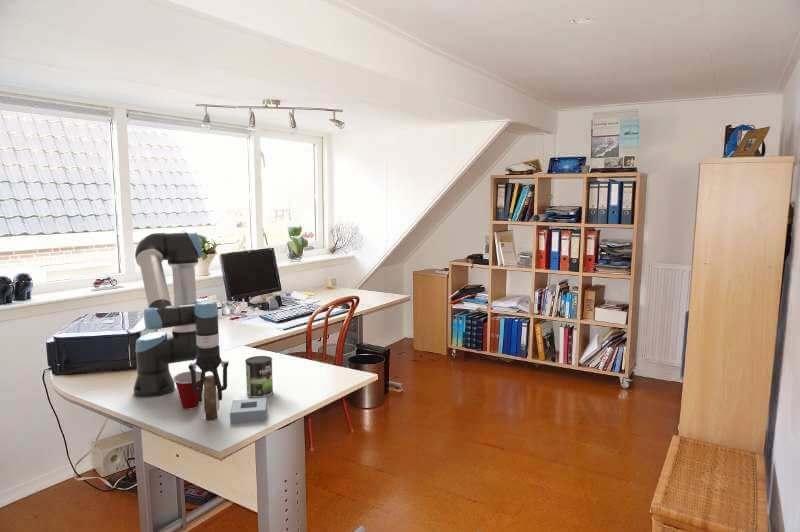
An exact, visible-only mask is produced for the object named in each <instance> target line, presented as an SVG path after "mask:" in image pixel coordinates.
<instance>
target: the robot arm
mask: <svg viewBox="0 0 800 532" xmlns="http://www.w3.org/2000/svg"><path fill="white" fill-rule="evenodd" d="M200 239H201V238H200V237H199V235H198V233H197V231H195V230H190V229H189V230H164V231H163V230H161V231H160V230H158V231H152V232H151V233H147V235H145V236H144V237H143V238H142V239H141V240H140V241H139V242H138V244H137V246H136V249H135V255H134V257H135V262H136V264H137V265H138V267H140V272H141V276H142V281H143V282H142V283H143V286H144V292H145V298H146V301H147V306H148V308H145V309H144V310H143V321H144V326H145V329H148V330H162V329H166V328H167V329H168V328H172V330H171V332H172V333H171V334H168V333H167V332H166V331H154V332H151V333H146V334H143V335H141V336H139V337H138V338H137V339H136V341H135V350H134V351H135V354H136V370H137V371H136V372H137V373H136V375H137V376H136V377H135V378H136V379H135V382H134V384H133V385H134V386H133V395H134V396H136V397H139V398H155V397H159V396H163V395H167V394H170V393H171V392H173V391H174V390H175V389H176V388H175V387H176V384H175V382H174V379H173V378H174V377H172V373H171V372H170V368H169V366H170V365H169V364H176V363H181V362H189V361H195V362H193V363H190V364H189V365H188V369H189V371H190V372H191V380H192V390H193V392H197V393H198V394H199V403H201V407H202V412H203V413H204V412H205V396H204V378H205V376H206V373H209V372H210V373H212V375H214V379H215V383H216V410H217V411H219V410H220V407H221V405H220V401H222V400H223V391H226V390H227V388H228V366H229V365H230V362H229V361H228V360H226V361H225V360H222V357H221V355H220V353H221V352H220V350H221V349H220V332H219V331H220V330H219V308H218V304H217V302H216V301H214V300H201V301H200V300H199V301H197V287H196V286H197V285H196V269H195V268H196V266H197V265H198V264H199V259H202V257H203V247H202V241H201V240H200ZM163 261H167V265H168V266H169V267H170V268H171V271H172V285H173V286H172V287H173V288H172V289H173V303H174V304H173V305H172V300H171V297H170V291H169V289H168V284H167V281H166V275H165V272H164V267H163ZM220 366H221V367H222V383H221V380H220V376H219V372H218V368H219V367H220ZM197 367H198V368H199V370H201V371H200V372H201V378H200V384H199V388H197V380H196V371H197V370H196V369H197Z"/></svg>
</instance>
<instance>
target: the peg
mask: <svg viewBox="0 0 800 532" xmlns="http://www.w3.org/2000/svg"><path fill="white" fill-rule="evenodd" d="M216 390H217V386H216V383H215V379H214V375H213V374H211V375H210V374H209V375H205V378H204V385H203V391H204V396H205V415H204V417H205V420H206V421H213V420H216V419H218V410H216Z"/></svg>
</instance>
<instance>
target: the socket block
mask: <svg viewBox="0 0 800 532" xmlns="http://www.w3.org/2000/svg"><path fill="white" fill-rule="evenodd" d="M267 400H268V399H267V397H263V398H245V399H234V400H232V403H231V407H230V410H229V419H230V420H229V421H230V422H229V423H230V425H235V424H243V423H244V424H245V423H256V422H255V421H258V422H266V421H267V415H268V414H267V412H268V411H267V410H268V405H267V404H268V402H267ZM266 414H267V415H266ZM265 420H266V421H265Z"/></svg>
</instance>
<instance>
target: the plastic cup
mask: <svg viewBox="0 0 800 532" xmlns="http://www.w3.org/2000/svg"><path fill="white" fill-rule="evenodd" d="M172 378H173V381H174V384H175V386H176V388H177V392H178V396H179V399H180V404H181V406H182V408H183V409H184V410H192V409H193V410H194V409H195V408H198V407H199V404H200V402H199V394H198V393H197V392H193V390H192V380H191V372H190V370H189V371H184V372H181V373H178V374H176V375H174V376H173V377H172ZM200 378H201V371H197V370H196V380H197V388H199V384H200Z"/></svg>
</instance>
